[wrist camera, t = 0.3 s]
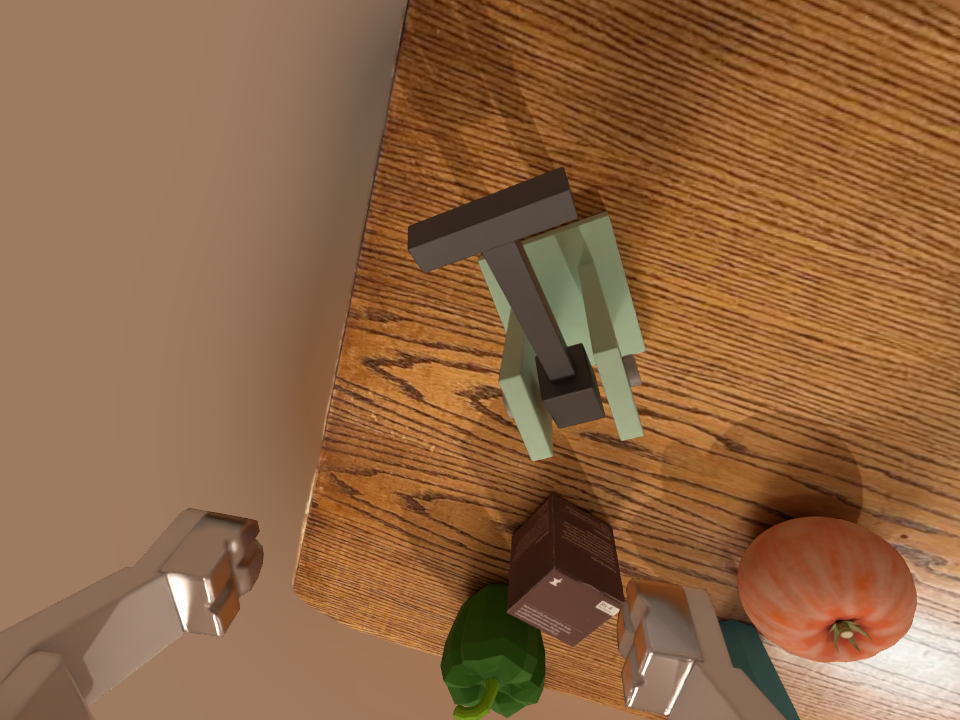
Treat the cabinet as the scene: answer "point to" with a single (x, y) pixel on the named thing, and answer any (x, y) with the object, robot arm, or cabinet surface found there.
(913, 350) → the cabinet surface
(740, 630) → the cup
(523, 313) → the lever
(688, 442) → the cabinet surface
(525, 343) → the lever stand
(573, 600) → the box
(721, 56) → the cabinet surface
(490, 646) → the bell pepper
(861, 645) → the tomato
